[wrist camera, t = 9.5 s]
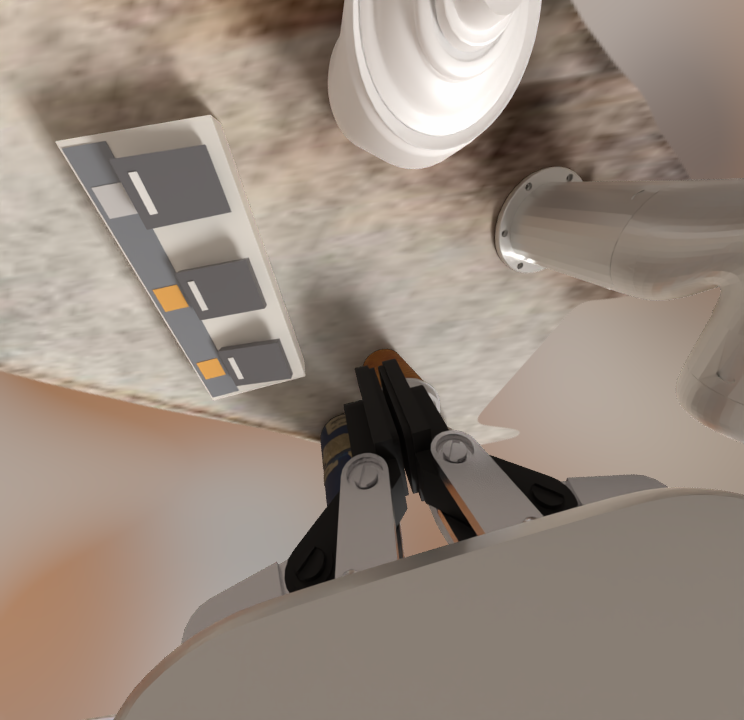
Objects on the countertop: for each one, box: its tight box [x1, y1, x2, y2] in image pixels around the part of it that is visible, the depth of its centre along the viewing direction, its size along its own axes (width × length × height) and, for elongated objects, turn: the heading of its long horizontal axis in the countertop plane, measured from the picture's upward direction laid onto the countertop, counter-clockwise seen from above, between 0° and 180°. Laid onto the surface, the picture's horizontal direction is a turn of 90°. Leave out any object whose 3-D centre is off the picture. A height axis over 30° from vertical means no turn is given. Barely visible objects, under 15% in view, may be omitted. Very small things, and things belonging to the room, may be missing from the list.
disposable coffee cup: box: [363, 349, 440, 413], centre depth 40 cm, size 10×10×12 cm
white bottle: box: [328, 0, 542, 169], centre depth 18 cm, size 12×11×25 cm
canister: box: [321, 414, 352, 506], centre depth 43 cm, size 10×10×18 cm
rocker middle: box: [175, 257, 267, 320], centre depth 29 cm, size 7×5×1 cm
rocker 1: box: [109, 144, 232, 230], centre depth 25 cm, size 7×5×1 cm
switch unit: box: [55, 115, 305, 400], centre depth 32 cm, size 12×27×5 cm, turn 10°
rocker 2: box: [218, 338, 293, 386], centre depth 34 cm, size 7×5×1 cm
